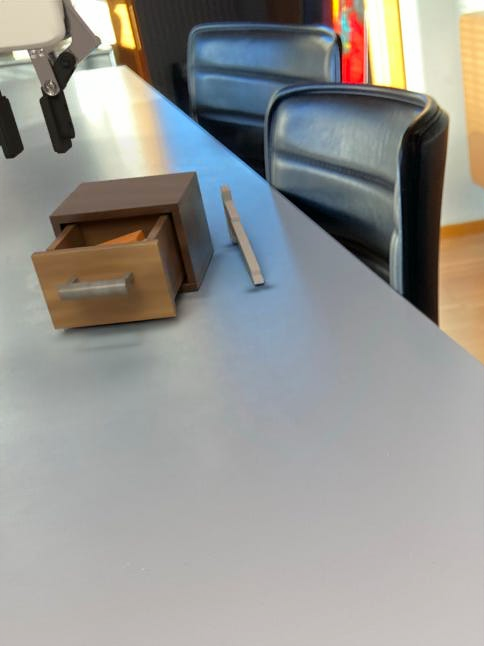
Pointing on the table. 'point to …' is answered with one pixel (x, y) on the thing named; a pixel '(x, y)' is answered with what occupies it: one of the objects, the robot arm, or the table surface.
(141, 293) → the drawer
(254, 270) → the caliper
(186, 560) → the table surface
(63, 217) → the cabinet
